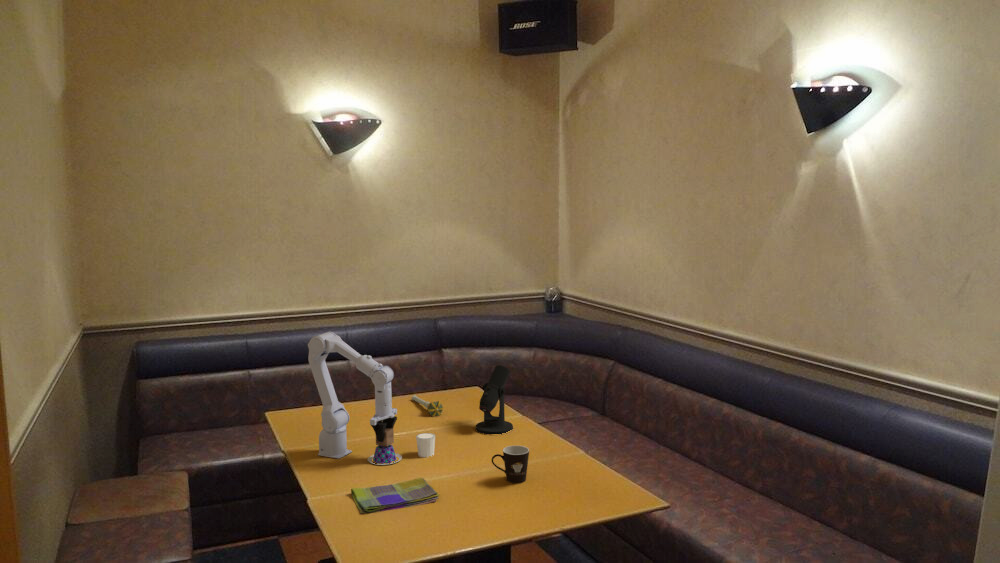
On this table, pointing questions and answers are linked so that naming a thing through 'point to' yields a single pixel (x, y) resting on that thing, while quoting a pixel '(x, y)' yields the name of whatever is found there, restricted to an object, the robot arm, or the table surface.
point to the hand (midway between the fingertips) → (384, 439)
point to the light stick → (430, 406)
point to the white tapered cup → (425, 444)
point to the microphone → (494, 403)
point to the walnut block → (387, 437)
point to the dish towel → (394, 496)
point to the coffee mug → (514, 463)
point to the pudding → (384, 455)
